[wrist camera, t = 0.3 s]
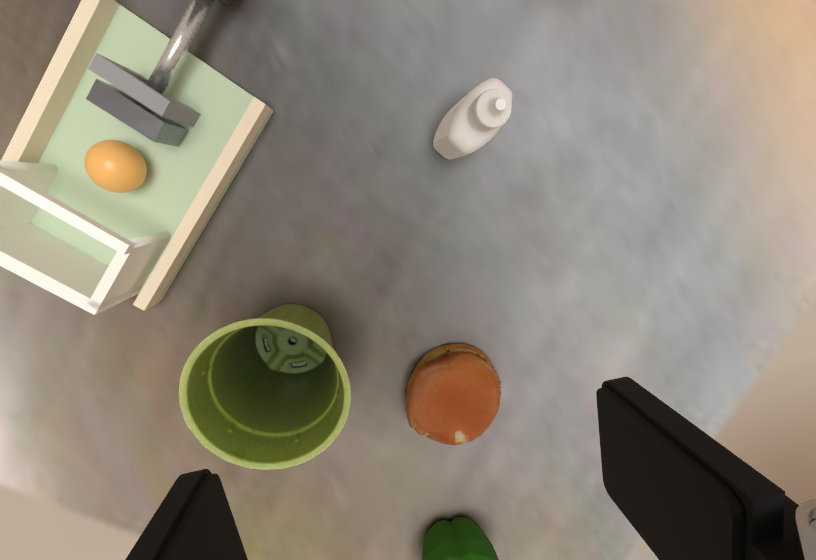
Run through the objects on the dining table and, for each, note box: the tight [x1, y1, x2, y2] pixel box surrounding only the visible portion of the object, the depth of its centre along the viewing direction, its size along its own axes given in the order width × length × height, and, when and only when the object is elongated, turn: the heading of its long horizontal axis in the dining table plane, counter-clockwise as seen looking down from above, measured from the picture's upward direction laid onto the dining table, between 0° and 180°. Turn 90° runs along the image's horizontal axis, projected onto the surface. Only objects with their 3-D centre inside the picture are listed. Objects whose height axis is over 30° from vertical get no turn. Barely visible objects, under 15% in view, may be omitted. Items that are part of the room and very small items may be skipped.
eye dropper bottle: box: [433, 78, 513, 160], centre depth 31 cm, size 4×6×12 cm
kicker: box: [86, 0, 236, 147], centre depth 29 cm, size 14×5×6 cm, turn 146°
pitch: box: [0, 0, 274, 315], centre depth 31 cm, size 20×14×8 cm
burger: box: [405, 343, 501, 445], centre depth 41 cm, size 10×9×5 cm
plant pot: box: [179, 304, 351, 470], centre depth 35 cm, size 12×12×11 cm
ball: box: [84, 140, 147, 193], centre depth 32 cm, size 4×4×4 cm
